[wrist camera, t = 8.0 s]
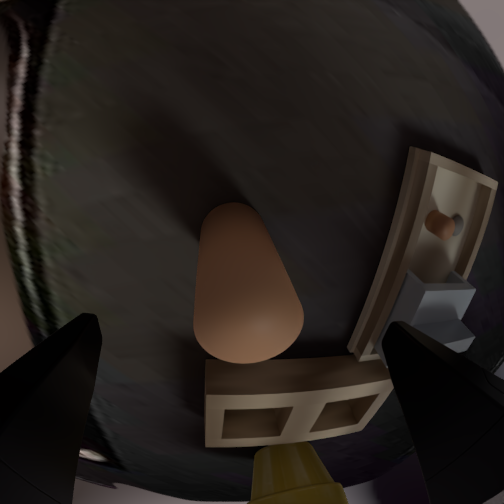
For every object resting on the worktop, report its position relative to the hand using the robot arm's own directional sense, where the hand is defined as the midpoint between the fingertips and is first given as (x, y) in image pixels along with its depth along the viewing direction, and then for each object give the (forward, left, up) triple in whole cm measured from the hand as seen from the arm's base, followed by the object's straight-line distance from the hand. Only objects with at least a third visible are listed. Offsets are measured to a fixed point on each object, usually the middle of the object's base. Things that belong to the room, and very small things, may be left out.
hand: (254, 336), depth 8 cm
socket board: (-6, +13, -7) cm, 16 cm away
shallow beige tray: (-13, +1, -7) cm, 15 cm away
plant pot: (-8, +26, -8) cm, 28 cm away
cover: (-13, +4, -6) cm, 15 cm away
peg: (0, 0, -7) cm, 7 cm away
